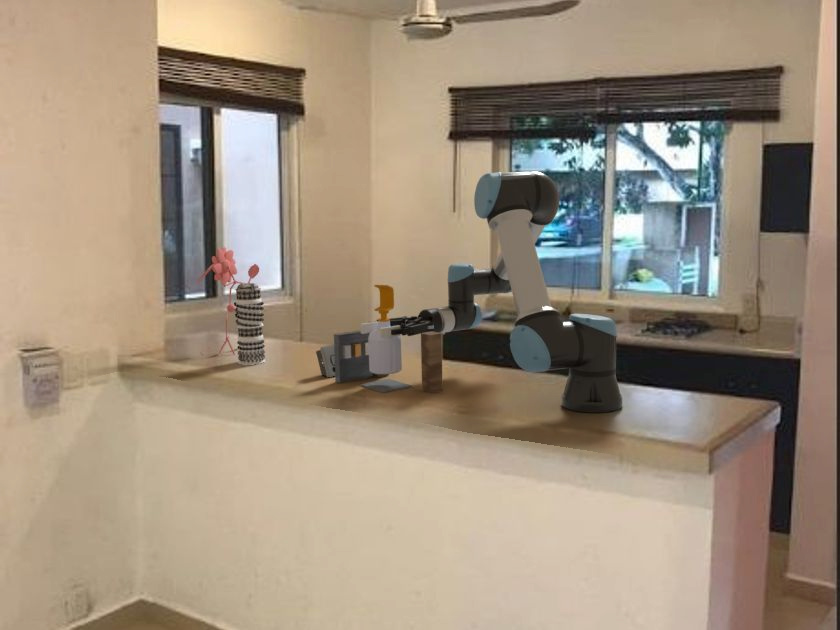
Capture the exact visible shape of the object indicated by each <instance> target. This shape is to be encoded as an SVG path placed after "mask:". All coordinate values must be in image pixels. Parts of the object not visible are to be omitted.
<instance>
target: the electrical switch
mask: <svg viewBox="0 0 840 630" xmlns="http://www.w3.org/2000/svg"><path fill="white" fill-rule="evenodd" d="M315 353H316V358H317V361H318V365H319V370H320V373H321V376H322V375H324V376H323V377H326V378H328V377H330V378H333V376H334V377H335V353H334V343H333V344H329V345H328V344H327V345H323V346H321V347H320V349H318V350H315Z"/></svg>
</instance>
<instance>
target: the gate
mask: <svg viewBox="0 0 840 630" xmlns="http://www.w3.org/2000/svg"><path fill="white" fill-rule="evenodd" d="M371 322H377V320H371V321H368V323H371ZM442 337H443V336H442V333H438V332H433V331H431V332H425V333H421V334H420V353H421V354H420V355H421V356H420V357H421V358H420V359H421V391H422V392H426V393H428V394H433V393H434V394H435V393H438V392H442V391H443V346H442V345H443V343H442V341H443V340H442V339H443V338H442ZM388 375H389V376H390V374H386V375H382V374H374V373H373V378H374V377H375V378H382V377H383V378H384V377H389V376H388Z"/></svg>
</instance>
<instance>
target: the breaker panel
mask: <svg viewBox="0 0 840 630" xmlns="http://www.w3.org/2000/svg"><path fill="white" fill-rule="evenodd" d="M369 334H370V333H365V334H361V329H358V330H351V331H347V332H339V333H334V334H333V344H334V353H335V376H334V379H335V380H334V381H335V383H337V382H338V384H345V383H351V382H355V381H354V380H356V381H361V380H365V378H366V379H371V378H374V376H373V373H371V372H370V370H369V345H368V337H369ZM360 379H361V380H360ZM344 382H345V383H344Z"/></svg>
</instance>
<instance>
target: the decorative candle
mask: <svg viewBox="0 0 840 630" xmlns="http://www.w3.org/2000/svg"><path fill="white" fill-rule="evenodd" d="M244 283H245V284H240V283H239V284H238V285H237V288H235V289H234V290H235V292H236V294H235V296H236V299H235V302H233V305H234V306H235V311H234V312H235V314H234V317H235V318H236V320H235V323H236V328H237V329H238V330H237V333H238V335H237V342H236V343H237V345H238V346H237V349H238V351H237V355H238V357H237V360H238V361H237V363H238V364H239V365H241V364H242V365H243V366H253V365H252V364H258V365H260V364H259V363H262V364H264V363H266V356H265V353H266V350H265V349H264V348H265V346H266V345H265V344H264V343H265V339H264V333H263V327H264V326H265V325H264V323H262V322H263V321H265V318H263V316H264V315H265V314H264V313H263V312H262V311H263V310H264V309H265V308H264V307H263V305H264V304H265V303H264V301H262V297H261V295H262V293H261V289H262V288H261V287H259V285H258V284H257V283H253V282H252V283H251V282H250V283H248V282H247V283H246V282H244ZM264 345H265V346H264ZM263 362H264V363H263Z"/></svg>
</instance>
